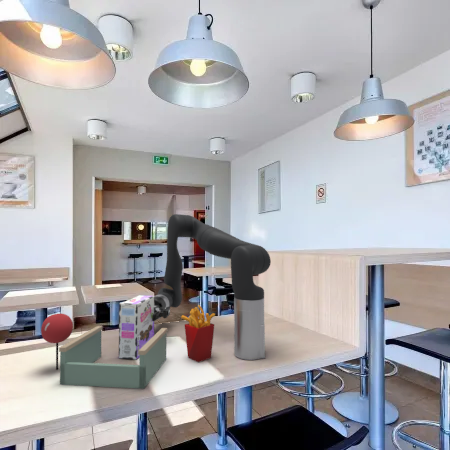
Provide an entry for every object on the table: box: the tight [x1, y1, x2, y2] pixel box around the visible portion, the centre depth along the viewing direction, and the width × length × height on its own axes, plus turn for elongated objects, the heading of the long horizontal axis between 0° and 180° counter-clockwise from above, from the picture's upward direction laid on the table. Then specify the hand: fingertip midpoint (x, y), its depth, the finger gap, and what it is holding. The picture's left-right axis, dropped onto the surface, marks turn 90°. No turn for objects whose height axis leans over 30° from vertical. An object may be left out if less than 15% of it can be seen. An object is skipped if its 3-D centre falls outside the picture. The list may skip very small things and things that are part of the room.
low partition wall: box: [58, 325, 168, 390], centre depth 85 cm, size 22×18×9 cm
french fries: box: [180, 304, 216, 363], centre depth 94 cm, size 9×8×15 cm
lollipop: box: [40, 313, 74, 370], centre depth 86 cm, size 8×8×15 cm
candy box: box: [118, 295, 155, 360], centre depth 99 cm, size 14×6×16 cm, turn 170°
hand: (140, 317), depth 101 cm, fingers open, 8 cm apart
